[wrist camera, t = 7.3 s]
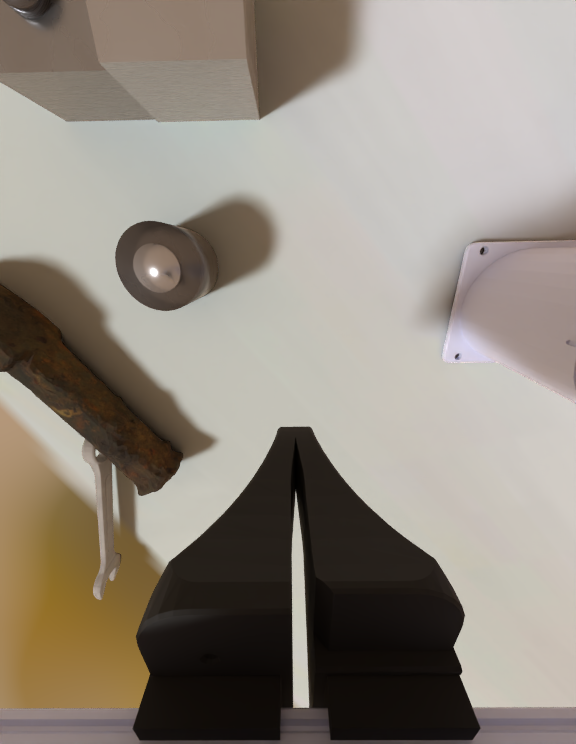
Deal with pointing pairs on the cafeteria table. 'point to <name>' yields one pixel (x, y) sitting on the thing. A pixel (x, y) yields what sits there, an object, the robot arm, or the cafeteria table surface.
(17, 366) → the rough brown wooden log
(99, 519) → the combination wrench
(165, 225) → the socket
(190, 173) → the cafeteria table surface
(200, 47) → the grey block
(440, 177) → the cafeteria table surface
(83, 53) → the ratchet
